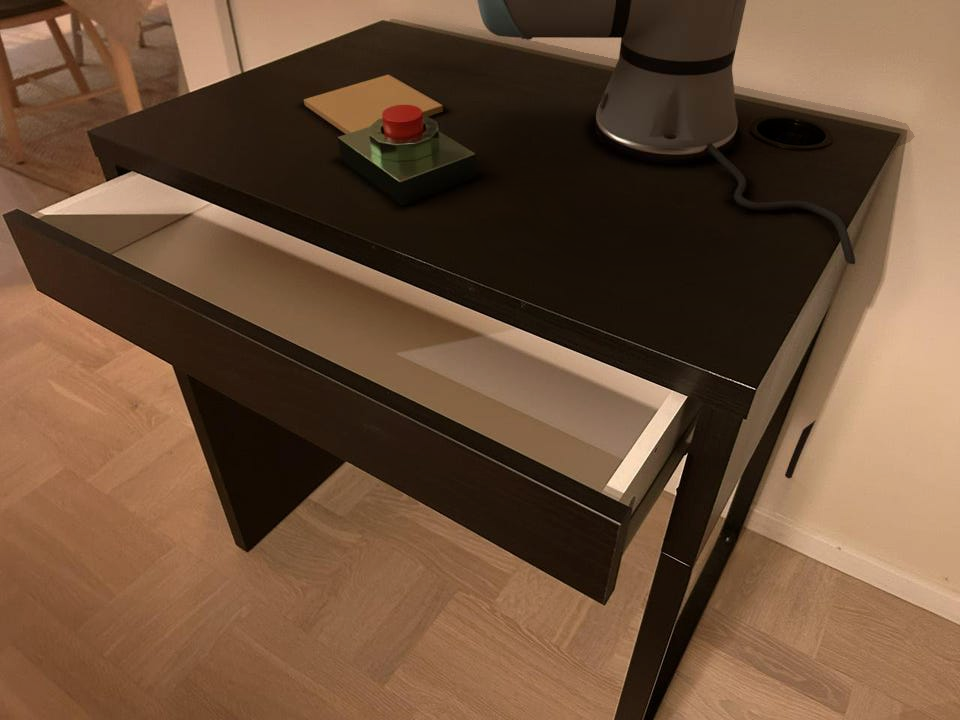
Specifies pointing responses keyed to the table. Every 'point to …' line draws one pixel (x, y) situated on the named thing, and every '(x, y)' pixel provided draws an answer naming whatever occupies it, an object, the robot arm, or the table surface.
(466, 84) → the table surface
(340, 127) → the cork mat
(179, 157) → the table surface
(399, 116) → the button
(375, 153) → the control box
